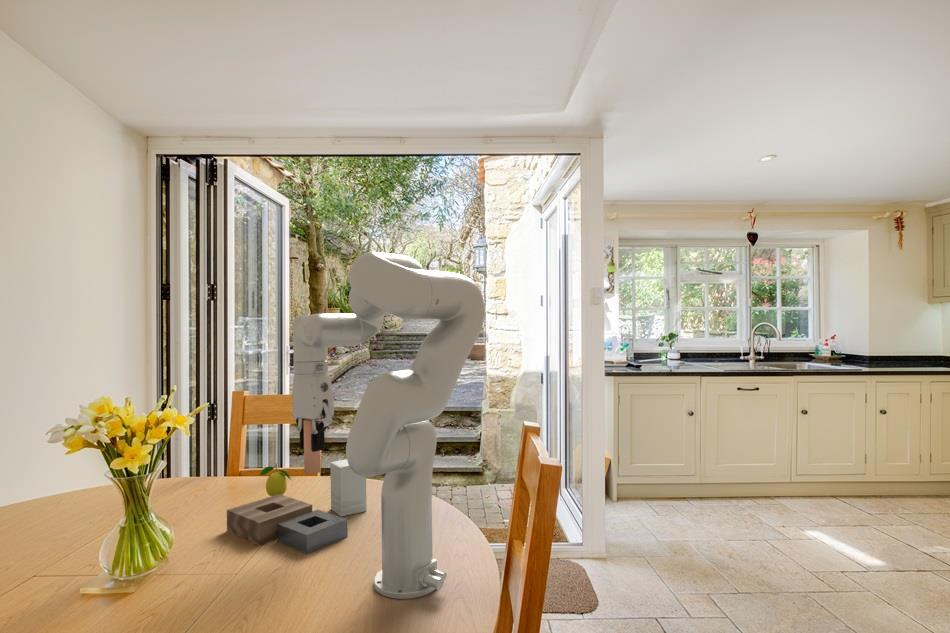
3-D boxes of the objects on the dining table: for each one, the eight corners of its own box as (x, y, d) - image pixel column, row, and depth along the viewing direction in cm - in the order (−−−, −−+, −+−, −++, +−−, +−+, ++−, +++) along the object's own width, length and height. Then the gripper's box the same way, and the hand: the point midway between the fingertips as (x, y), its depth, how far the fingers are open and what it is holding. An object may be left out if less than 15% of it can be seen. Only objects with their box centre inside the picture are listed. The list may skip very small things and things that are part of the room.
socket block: (312, 525, 130) (312, 504, 130) (259, 545, 118) (259, 522, 118) (279, 513, 138) (279, 494, 138) (226, 530, 127) (226, 509, 127)
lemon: (259, 499, 149) (259, 464, 149) (277, 493, 154) (277, 459, 154) (273, 504, 145) (273, 467, 145) (292, 498, 150) (291, 462, 150)
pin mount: (347, 536, 122) (347, 519, 122) (306, 553, 114) (306, 535, 114) (318, 526, 129) (317, 509, 129) (277, 541, 120) (277, 523, 120)
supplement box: (367, 511, 139) (366, 462, 139) (339, 517, 135) (339, 467, 135) (356, 503, 145) (356, 457, 145) (330, 509, 141) (329, 461, 141)
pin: (324, 471, 122) (323, 418, 122) (310, 475, 119) (309, 421, 119) (314, 469, 124) (313, 417, 124) (301, 472, 121) (300, 419, 121)
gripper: (347, 369, 120) (348, 450, 119) (303, 366, 130) (304, 441, 129) (319, 371, 114) (321, 457, 113) (275, 368, 124) (276, 447, 123)
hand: (312, 448), depth 121 cm, fingers closed on pin, 3 cm apart
